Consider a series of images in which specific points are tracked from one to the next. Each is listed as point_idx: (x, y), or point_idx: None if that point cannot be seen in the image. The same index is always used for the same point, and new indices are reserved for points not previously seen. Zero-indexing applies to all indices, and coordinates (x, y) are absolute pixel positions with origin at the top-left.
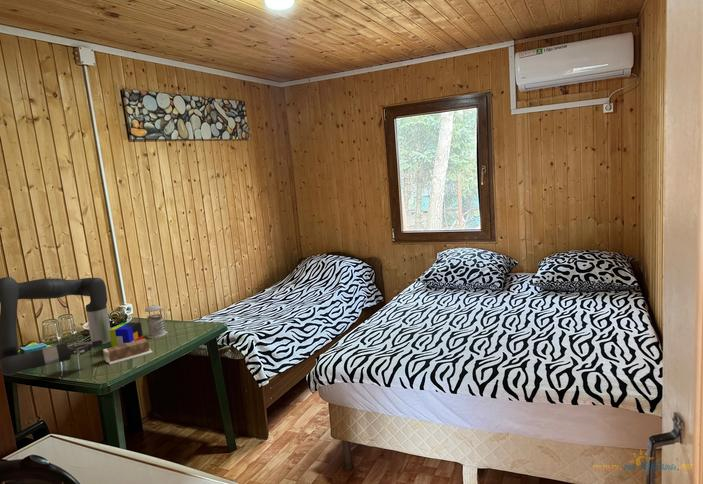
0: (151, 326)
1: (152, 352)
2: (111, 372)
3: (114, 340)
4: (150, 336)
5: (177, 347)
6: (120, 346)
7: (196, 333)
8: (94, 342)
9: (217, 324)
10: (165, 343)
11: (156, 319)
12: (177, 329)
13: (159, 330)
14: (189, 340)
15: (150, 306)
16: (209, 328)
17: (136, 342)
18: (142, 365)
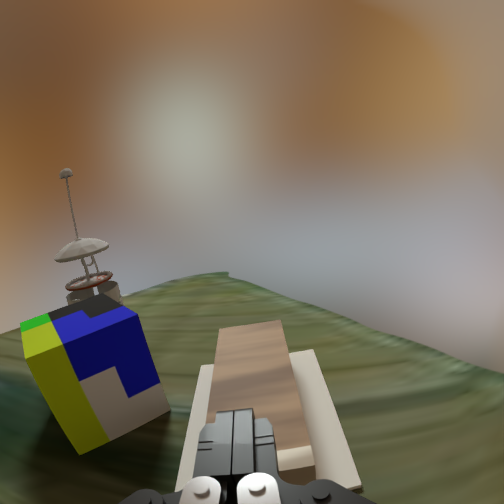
0: None
1: (313, 351)
2: (497, 443)
3: (75, 407)
4: None
5: (314, 310)
6: (246, 395)
7: (223, 292)
8: (254, 457)
9: (201, 275)
10: None
11: (79, 297)
12: None
13: None
14: (271, 298)
15: (74, 242)
16: (213, 281)
17: (249, 346)
18: (452, 358)
